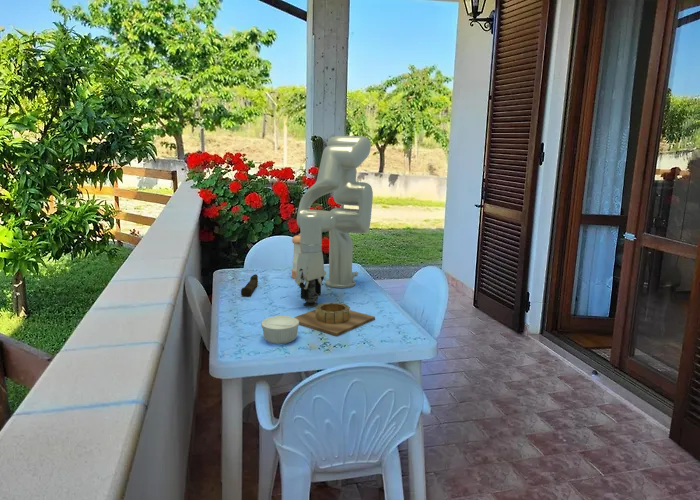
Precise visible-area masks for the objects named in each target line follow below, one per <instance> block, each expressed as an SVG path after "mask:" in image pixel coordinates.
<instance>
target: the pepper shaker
mask: <svg viewBox="0 0 700 500" xmlns="http://www.w3.org/2000/svg"><path fill="white" fill-rule="evenodd" d="M291 243H293V257H292V269H291V278H292V279H293V280H295V279H296V277H297V260H298V255H299V253H300V233H298V235H297V234H296V235H294V236H293V237H292V239H291Z"/></svg>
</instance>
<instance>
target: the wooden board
mask: <svg viewBox="0 0 700 500" xmlns="http://www.w3.org/2000/svg"><path fill="white" fill-rule="evenodd" d="M293 317H294V318H296V319H298V321H299V326H302V327H306V328H309V329H312V330H313V331H318V332H321V333H323V334H324V333H325V334H328V335H331V336H334V337H339V336H341V335H344V334H347V333H348V332H350V331H352V330H354V329H355V330H356V329H357V328H359V327H362V326H364V325H366V324H368V323H370V322H373V321H376V316H373V315H370V314H366V313H362V312H359V311H356V310H351V309H350V318H349V320H348V321H346V322H343V323H337V324H330V323H323V322H320V321H318V320H317V319H316V309H313V310H310V311H307V312H305V313H302V314H298V315H297V316H293Z"/></svg>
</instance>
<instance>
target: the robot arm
mask: <svg viewBox="0 0 700 500" xmlns="http://www.w3.org/2000/svg"><path fill="white" fill-rule="evenodd" d="M371 147H372V146H371V141H370V140H369V138H368V137H366V136H363V135H362V136H361V135H335V136H332V137H330V138H329V139H328V141H327V146H326V147H325V148H324V149H323V151H322V155H321V159H320V163H319V167H318V174H317V178H316V182H315V183H314V184H312V185H311V186H310V187H309V188H308V189H307V190H306V192H305V193H304V194H303V195H302V196H301V199H300V201H299V205H298V209H297V214H296V215H297V216H296V225H297V226H298V228H300V233H299V234H300V253H299V255H298V260H297V277H296V279H294V283H295V284H297V286H298V287H299V288H300V299H302V300H304V299H305V300H308V289H307V287H308V283H309V281H311V280H314V279H315V284H316V286H315V292H316V293H317V294H319V296H318V297H320V296H322V285H323V281H324V279H325V277H326V274H327V272H326V271H325V267H324V265H325V264H324V255H323V254H324V253H323V251H322V249H323V248H322V246H323V244H322V243H323V238H322V237H323V236H322V235H323V234H322V232H323V233H324V232H328V238H329V239H328V241H329V244H328V245H329V246H328V247H329V249H328V251H329V252H328V255H329V256H328V263H329V264H328V271H329V272H328V278H327V279H326V280H325V283H324V284H325V285H326V286H327V287H330V288H336V289H347V288H353V287H355V286H356V283H357V282H356V280H355V279H354V278H356V277H358V276H359V272H357V271H353V250H354V249H353V248H354V247H353V240H352V237H351V235H349V233H352V234H367V232H369V230H370V227H371V222H372V221H371V219H372V208H373V200H374V199H373V198H374V197H373V196H374V193H373V192H374V191H373V188H372V185H371V184H370V183H368V182H365V181H357V173H358V172H357V168H359V167H360V166H361V165H362V164H363V162H364V161H365V160H366V159H367V158H368V157H369V155H370V152H371ZM332 192H333V200H334V202H335V203H336V205H337V204H338V205H342V206H351V207H352V206H354V207H358V208H357V209H356V208H345V207H337V208H336V207H335V208H332V209H331V210H323V209H321V210H320V209H311V207H312V205H313V203H315V202H316V200H317V199H318V200H319V198H320V197H323V196H325V195H327V194H330V193H332ZM305 300H304V301H305Z"/></svg>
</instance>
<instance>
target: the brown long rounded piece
mask: <svg viewBox="0 0 700 500" xmlns="http://www.w3.org/2000/svg"><path fill="white" fill-rule="evenodd" d="M258 279H259V277H258V274H253V275H252V276H250V279H249V281H248V282H247V284H246V285H244V287H241V289H240V295H241V296H242V297H243V298H248V297H249V298H250V297H251V296H252V293H253V292H254V290H255V288H258V284H259V280H258Z"/></svg>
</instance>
